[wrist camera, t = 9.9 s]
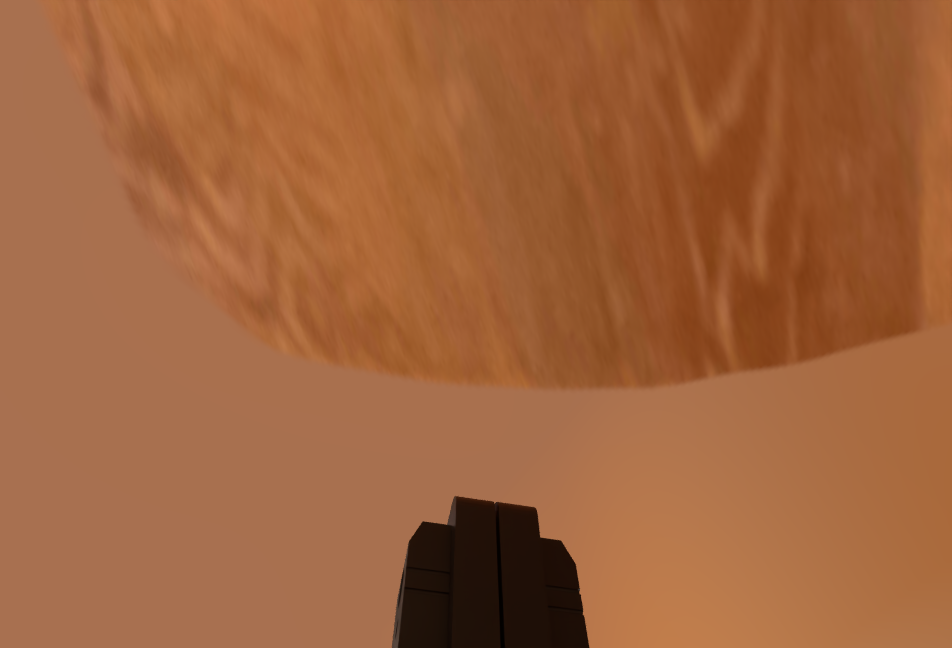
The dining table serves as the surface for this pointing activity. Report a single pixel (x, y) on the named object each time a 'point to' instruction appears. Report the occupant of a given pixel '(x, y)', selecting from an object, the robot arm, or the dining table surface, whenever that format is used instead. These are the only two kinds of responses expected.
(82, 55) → the dining table surface
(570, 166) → the dining table surface
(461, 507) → the robot arm
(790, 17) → the dining table surface
